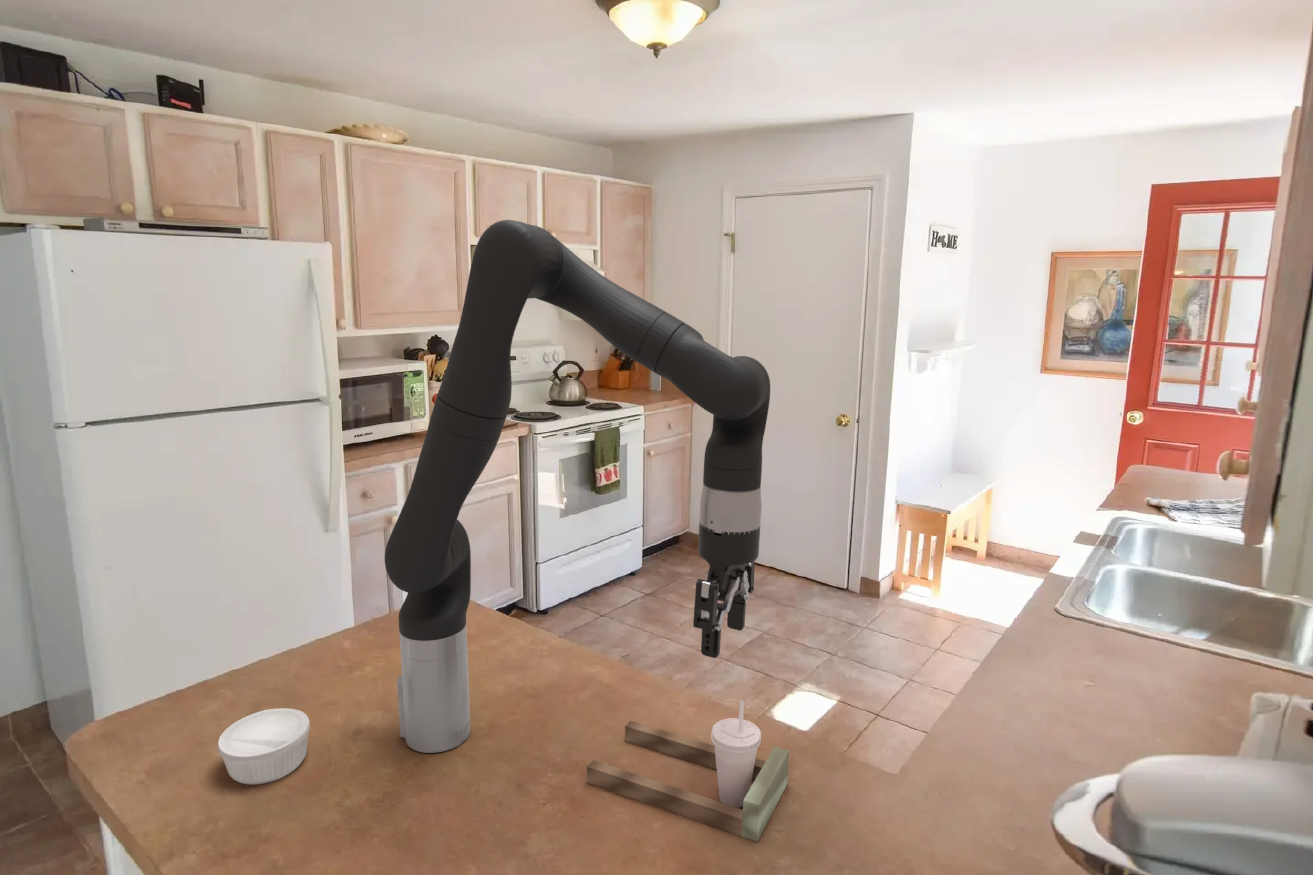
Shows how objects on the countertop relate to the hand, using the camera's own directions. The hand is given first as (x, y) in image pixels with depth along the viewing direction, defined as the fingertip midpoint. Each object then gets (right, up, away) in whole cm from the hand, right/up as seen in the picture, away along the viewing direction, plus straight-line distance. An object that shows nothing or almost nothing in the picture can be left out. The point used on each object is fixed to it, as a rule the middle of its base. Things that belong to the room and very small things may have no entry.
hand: (723, 641), depth 97 cm
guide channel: (-4, -20, +5) cm, 21 cm away
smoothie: (+2, -21, +2) cm, 21 cm away
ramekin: (-62, -19, +8) cm, 66 cm away
